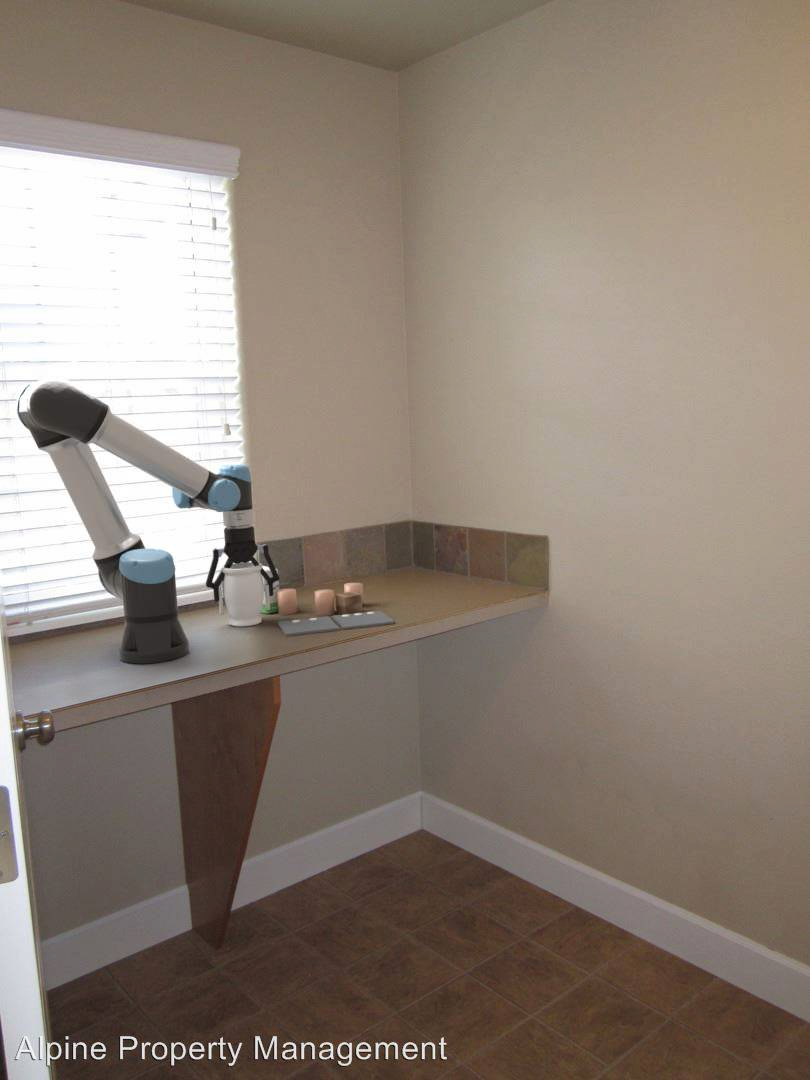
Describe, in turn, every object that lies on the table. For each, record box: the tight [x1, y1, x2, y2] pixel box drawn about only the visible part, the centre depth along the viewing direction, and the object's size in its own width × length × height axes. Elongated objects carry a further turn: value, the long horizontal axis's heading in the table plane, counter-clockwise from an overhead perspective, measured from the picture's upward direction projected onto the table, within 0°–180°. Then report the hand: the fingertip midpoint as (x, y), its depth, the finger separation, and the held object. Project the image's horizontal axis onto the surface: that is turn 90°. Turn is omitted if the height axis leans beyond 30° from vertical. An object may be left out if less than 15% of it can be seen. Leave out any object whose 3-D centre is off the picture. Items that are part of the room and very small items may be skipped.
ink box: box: [261, 565, 280, 615], centre depth 240 cm, size 9×5×12 cm, turn 39°
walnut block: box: [334, 592, 363, 615], centre depth 234 cm, size 5×5×5 cm
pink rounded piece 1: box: [314, 588, 336, 617], centre depth 234 cm, size 5×5×6 cm
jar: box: [220, 561, 264, 627], centre depth 226 cm, size 11×10×15 cm
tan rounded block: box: [277, 588, 298, 616], centre depth 237 cm, size 5×5×6 cm
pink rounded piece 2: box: [343, 582, 364, 608], centre depth 241 cm, size 5×5×6 cm
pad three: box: [331, 610, 395, 630], centre depth 224 cm, size 13×13×1 cm
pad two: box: [277, 616, 340, 637], centre depth 220 cm, size 13×13×1 cm
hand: (245, 611), depth 227 cm, fingers open, 11 cm apart
